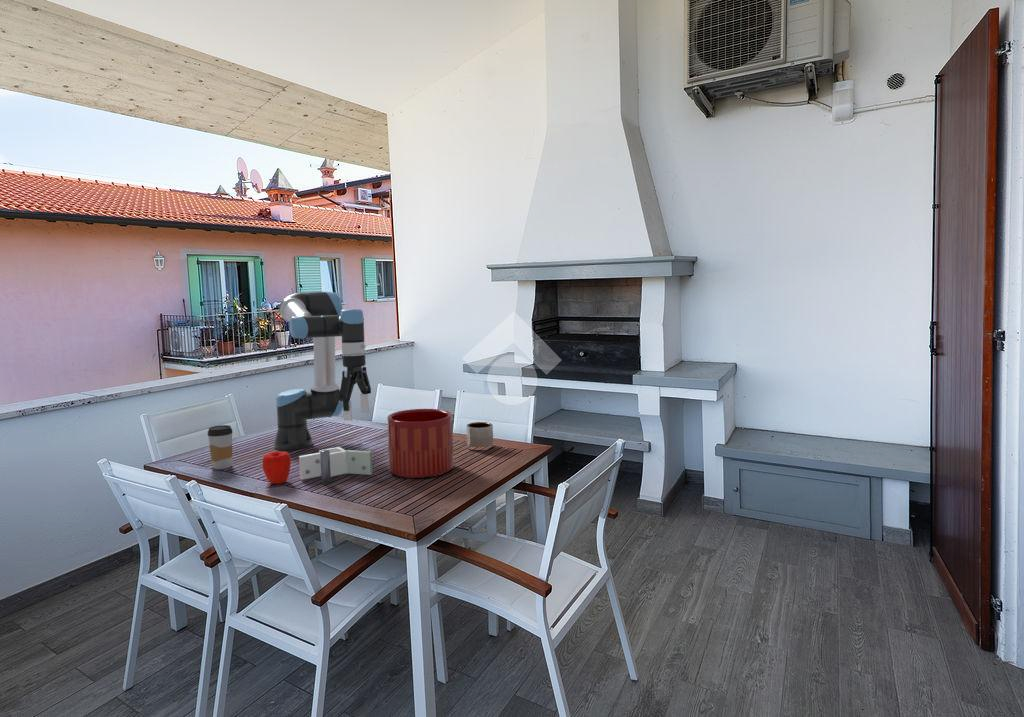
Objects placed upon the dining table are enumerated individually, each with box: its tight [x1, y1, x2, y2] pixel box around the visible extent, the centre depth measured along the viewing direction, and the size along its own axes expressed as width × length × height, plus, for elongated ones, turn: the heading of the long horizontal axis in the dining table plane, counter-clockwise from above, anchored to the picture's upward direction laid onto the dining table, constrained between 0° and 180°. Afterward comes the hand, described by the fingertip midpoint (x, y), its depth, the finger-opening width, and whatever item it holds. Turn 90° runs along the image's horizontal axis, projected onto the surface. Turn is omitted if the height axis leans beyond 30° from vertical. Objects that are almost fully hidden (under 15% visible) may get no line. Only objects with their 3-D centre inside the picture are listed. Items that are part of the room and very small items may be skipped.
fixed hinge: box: [298, 446, 348, 481], centre depth 203 cm, size 7×15×8 cm, turn 127°
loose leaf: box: [346, 449, 374, 476], centre depth 203 cm, size 2×9×8 cm, turn 77°
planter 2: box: [466, 421, 494, 448], centre depth 236 cm, size 11×11×10 cm
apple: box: [262, 450, 292, 485], centre depth 194 cm, size 9×9×11 cm
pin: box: [320, 449, 332, 485], centre depth 194 cm, size 3×3×11 cm
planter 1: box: [386, 408, 454, 479], centre depth 207 cm, size 23×23×20 cm
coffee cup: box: [207, 424, 234, 470], centre depth 213 cm, size 8×8×15 cm
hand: (356, 416), depth 198 cm, fingers open, 13 cm apart
